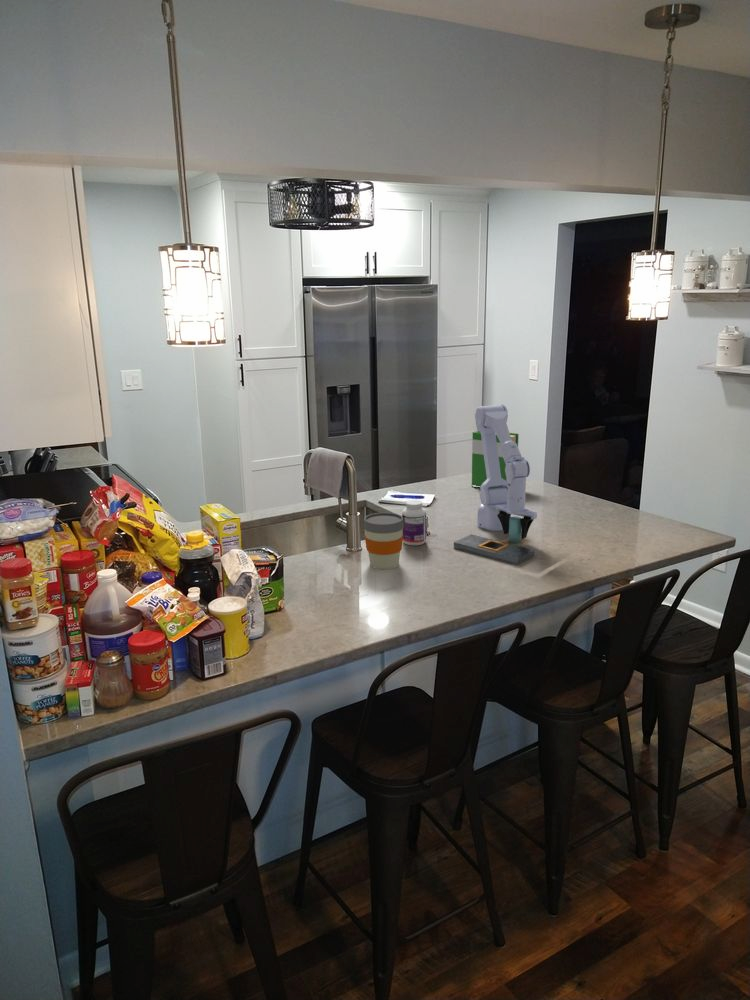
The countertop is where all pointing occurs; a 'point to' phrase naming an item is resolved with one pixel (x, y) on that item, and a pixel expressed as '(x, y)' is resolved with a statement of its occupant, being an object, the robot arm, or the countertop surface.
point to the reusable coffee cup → (384, 539)
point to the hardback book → (479, 462)
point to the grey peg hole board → (499, 552)
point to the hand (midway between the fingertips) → (515, 535)
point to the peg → (514, 530)
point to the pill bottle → (414, 523)
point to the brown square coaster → (523, 541)
